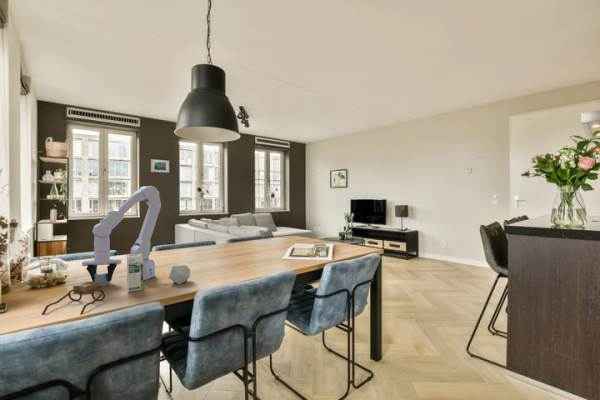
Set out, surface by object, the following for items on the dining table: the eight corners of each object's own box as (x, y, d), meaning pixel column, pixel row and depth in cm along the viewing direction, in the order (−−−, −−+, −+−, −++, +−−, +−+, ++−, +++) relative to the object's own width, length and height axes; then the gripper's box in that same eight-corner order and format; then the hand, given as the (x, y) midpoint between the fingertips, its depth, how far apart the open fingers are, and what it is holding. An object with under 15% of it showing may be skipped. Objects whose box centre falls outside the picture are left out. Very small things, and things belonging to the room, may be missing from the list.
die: (194, 284, 131) (194, 263, 137) (180, 278, 124) (181, 257, 130) (178, 289, 133) (179, 269, 139) (164, 284, 126) (165, 263, 132)
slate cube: (109, 283, 130) (109, 272, 130) (102, 286, 126) (102, 274, 126) (102, 283, 130) (102, 271, 130) (94, 285, 126) (94, 274, 126)
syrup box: (127, 292, 118) (127, 256, 117) (127, 288, 123) (126, 254, 122) (143, 290, 121) (143, 255, 120) (142, 286, 126) (142, 252, 125)
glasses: (106, 301, 109) (106, 288, 109) (81, 315, 96) (81, 300, 96) (70, 301, 108) (69, 288, 108) (40, 316, 95) (39, 301, 95)
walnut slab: (98, 289, 123) (98, 282, 123) (85, 294, 117) (85, 286, 117) (86, 288, 124) (86, 281, 124) (73, 292, 118) (73, 285, 118)
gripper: (123, 248, 134) (123, 277, 134) (87, 249, 130) (87, 279, 130) (118, 251, 127) (118, 282, 127) (79, 252, 123) (79, 284, 123)
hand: (102, 281), depth 128 cm, fingers closed on slate cube, 5 cm apart
